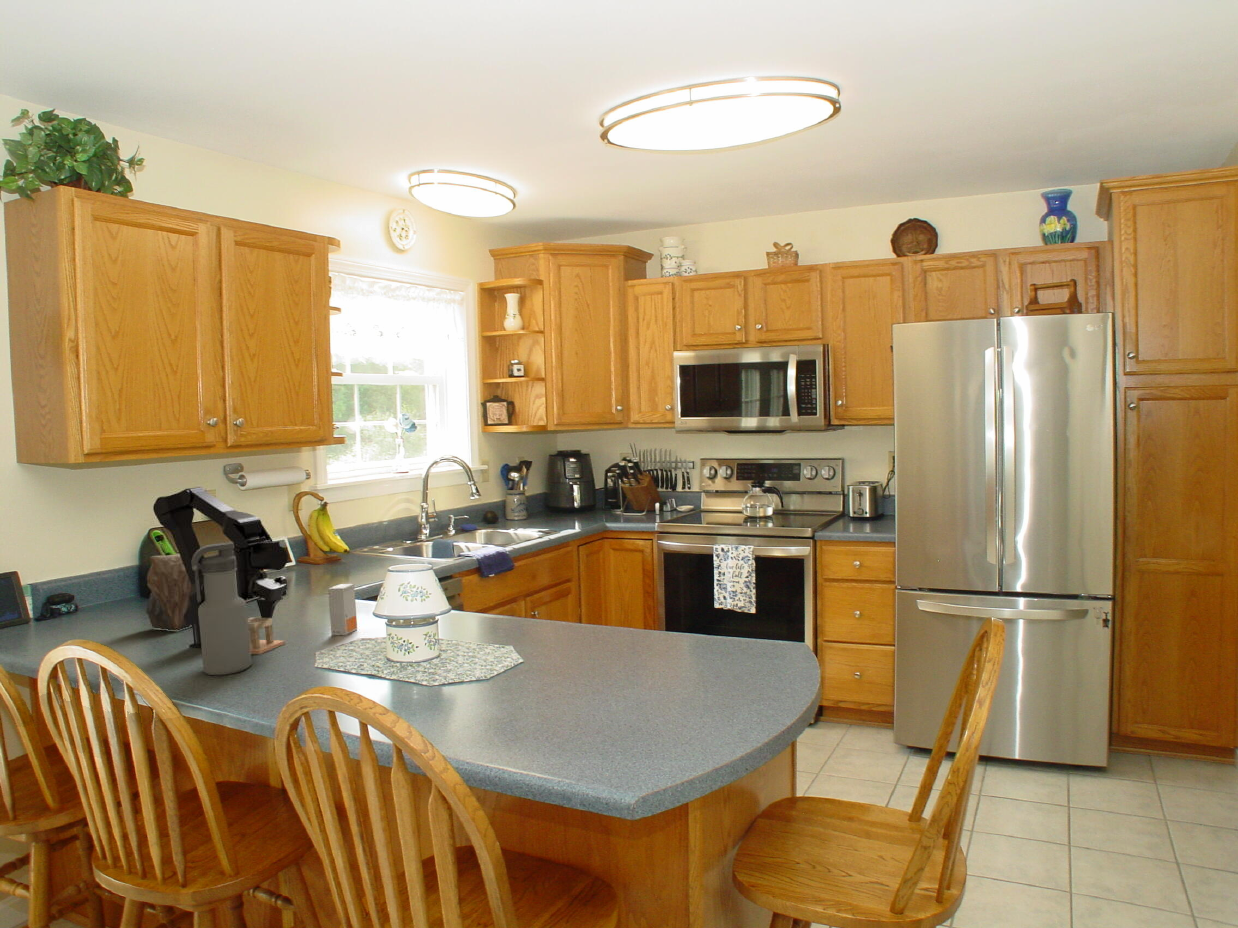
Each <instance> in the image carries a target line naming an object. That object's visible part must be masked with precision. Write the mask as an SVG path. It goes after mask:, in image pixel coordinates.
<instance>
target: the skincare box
mask: <svg viewBox="0 0 1238 928" xmlns="http://www.w3.org/2000/svg"><path fill="white" fill-rule="evenodd" d="M327 590H328V591H327V592H328V593H327V594H328V606H329V620H330V621H329V622H330V635H331V636H347V635H348V634H350V633H353V632H354V631H357V630H358V620H357V608H356V607H357V606H356V605H357V604H356V592H355V584H354V583H340V584H338V585H334V586H332V587H329V588H328V589H327Z"/></svg>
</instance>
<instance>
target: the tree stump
mask: <svg viewBox="0 0 1238 928" xmlns="http://www.w3.org/2000/svg"><path fill="white" fill-rule="evenodd" d="M149 560H150V562H151V564H150V565H151V566H150V567H149V570H148V572H147V574H146V583H147V585H146V586H147V587H148V589H149V590H150V592H151V593H150V594H149V598H148V600H147V601H148V602H147V606H146V609H145V613H146V615H147V618H148V620H149V622H150V624H151V627H152V628H153V627H154V628H161V629H168V630H180V629H183V628H186V627H189V626H190V625H192V624H186V623H185V620H184V617H183V615H184V614H185V612H186V611H187V609H188V608H189V606H190V605H191V604H190V600H189V593H190V589H191V582H190V580H189V577H188V575H187V572H186V570H185V567H184V564H183V562H182V559H181V557H180V554H179V553H176V554H169V555H151V556H150V557H149Z"/></svg>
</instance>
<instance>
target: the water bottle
mask: <svg viewBox="0 0 1238 928" xmlns="http://www.w3.org/2000/svg"><path fill="white" fill-rule="evenodd" d="M200 547H201V548H200V549H198V550H197V551H196V552H195V554H194V555H193V557H192V562H191V563H192V569H193V570H194V571H195V581H196V592H197V601H198V602H201V596H200V585H199V576H198V570H199V569H201V571H203V572H202V574H203V579H204V589H205V601H204V602H203V603H202V604H201V605H200V607H199V609H198V614H199V625H200V636H201V647H200V648H201V655H202V656H201V657H202V665H203V666H202V667H203V672H204V673H205V674H206V675H210V676H225V675H232V674H236V673H240V672H243V671H245V670H247V669H248V668H250V667H251V666H252V654H251V649H250V636H249V626H248V619H249V618H248V607H247V606H248V605H247V603H246V602H245V600H244V599H242V598H240V597H239V596H238V593H237V582H236V570H237V568H236V557H235V556H234V551H233V548H234V543H233V542H232V541H231V542H222V543H213V544H207V545H203V546H200ZM215 551H218V554H216V555H210V556H207V557H205V558H204V559H202V560H201V563H200V564H198V560H199V559H200V557H201V556H202V555H204V556H205V554H208V553H211V552H215Z"/></svg>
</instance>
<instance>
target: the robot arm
mask: <svg viewBox="0 0 1238 928" xmlns="http://www.w3.org/2000/svg"><path fill="white" fill-rule="evenodd" d="M152 507H153V508H152V509H153V512H154V515H155V517H156V519H157V521H158V522H159V524H160V525H161V526H162V527H163V528H165V529H166V530H168V531H169V532H170V534H171V535H172V536H171V537H172V538H173V541H174V544H175V547H176V549H177V551H178V554H180V557H181V559H182V562H183V564H184V567H185V570H186V572H187V575H188V577H189V580H190V582H191V589H190V593H189V600H190V604H191V605H190V606H189V608H188V609H187V611H186V612H185V614H184V615H183V617H184V620H185V623H186V624H192V627H191V628H192V636H193V637H192V638H193V643H191V644H189V645H188V646H189V647H188V648H202V647H201V636H200V625H199V614H198V609H199V607H200V605H201V604H202V603H203V602H204V601H205V589H204V579H203V574H202V572H203V571H201V569H199V570H198V576H199V585H200V596H201V602H198V601H197V592H196V581H195V571H194V570H193V569H192V563H191V562H192V557H193V555H194V554H195V552H196V551H197V550H198V549H200V548H201V547H202V546H201V545H200V542H199V539H198V537H197V535H196V532H195V530H194V527H193V521H194V517H195V510H197V511H198V512H199V513H201V514H202V515H203V516H205V517H207V519H210V520H211V521H213V522H214V523H215V524H217V525H218V526H220V528H221V531H222V534H223V535H224V536H225V537H226V538H227V539H228V540H229V541H231V542H232V543H234V548H233V554H234V556H235V557H236V568H237V570H236V582H237V593H238V596H239V597H240V598H242V599H244V600H245V602H246V604H249V603H251V602H254V601H256V603H257V606H258V610H259V611H258V612H259V615H260V618H272V619H273V616H274V612H275V609H276V607H277V605H278V603H280V602H281V601H283V599H284V597H285V596H287V590H288V581H287V577H285V576H283V575H281V576H277V577H275V579H274V578H271V579H270V578H268V575H267V572H266V571H280V570H283V568H285V567H286V565H287V564H288V560H289V559H288V558H289V555H288V553H287V551H286V549H285V548H284V547H283V546H281V544H280V541H278V540H274V541H273V539H272V538H271V535H270V534H269V533H268V531H267V530H266V528H265V526H264V525H263V523H262V520H261V519H260V518H259V517H258V516H255V515H253V514H250V513H248V512H243V511H237V510H235V509H233V508H232V507H230V506H229V505H227V504H226V503H224V502H223V501H222V500H219V499H218V498H216V497H215V496H214V495H212V494H210V493H209V492H208V491H207V490H206V489H205V488H204V487H200V486H196V487H190V488H189V487H188V488H185V489H183V490H181V491H179V492H175V493H174V494H170V495H164V496H159V497H157V499H156V500H155V501H154V504H153V506H152ZM204 558H206V557H205V554H204V555H202V556H201V557H200V559H199V560H198V564H200V563H201V560H202V559H204ZM263 570H265V571H263Z"/></svg>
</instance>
